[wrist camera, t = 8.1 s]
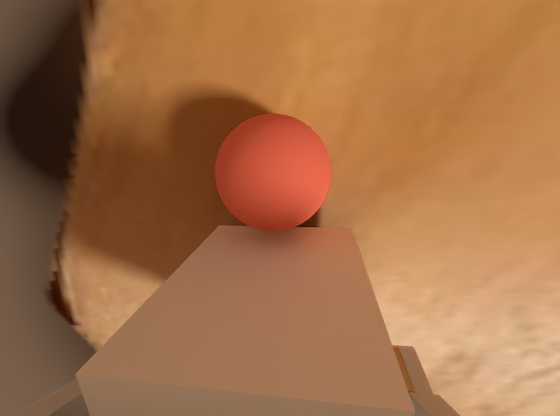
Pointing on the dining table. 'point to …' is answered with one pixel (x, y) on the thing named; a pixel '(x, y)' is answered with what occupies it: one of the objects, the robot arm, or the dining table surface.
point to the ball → (272, 172)
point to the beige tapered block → (254, 335)
